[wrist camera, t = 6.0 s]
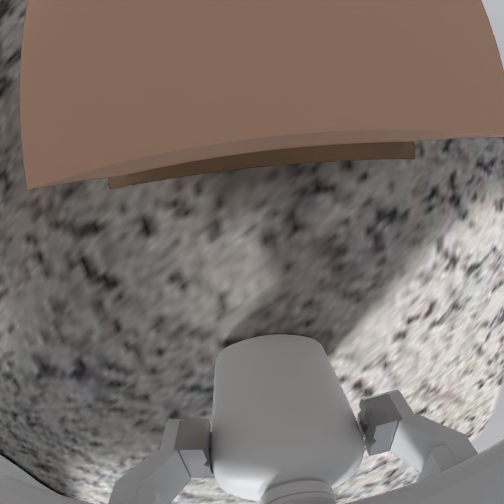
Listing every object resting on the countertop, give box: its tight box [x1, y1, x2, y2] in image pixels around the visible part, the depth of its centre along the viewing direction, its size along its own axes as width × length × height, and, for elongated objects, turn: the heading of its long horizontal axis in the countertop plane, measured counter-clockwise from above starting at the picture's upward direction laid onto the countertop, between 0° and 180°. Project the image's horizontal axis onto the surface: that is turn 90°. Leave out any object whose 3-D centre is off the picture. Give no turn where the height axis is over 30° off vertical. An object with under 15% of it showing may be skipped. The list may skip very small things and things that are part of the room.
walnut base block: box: [108, 141, 415, 189], centre depth 10 cm, size 10×10×5 cm
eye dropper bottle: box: [211, 334, 365, 504], centre depth 10 cm, size 4×6×12 cm
